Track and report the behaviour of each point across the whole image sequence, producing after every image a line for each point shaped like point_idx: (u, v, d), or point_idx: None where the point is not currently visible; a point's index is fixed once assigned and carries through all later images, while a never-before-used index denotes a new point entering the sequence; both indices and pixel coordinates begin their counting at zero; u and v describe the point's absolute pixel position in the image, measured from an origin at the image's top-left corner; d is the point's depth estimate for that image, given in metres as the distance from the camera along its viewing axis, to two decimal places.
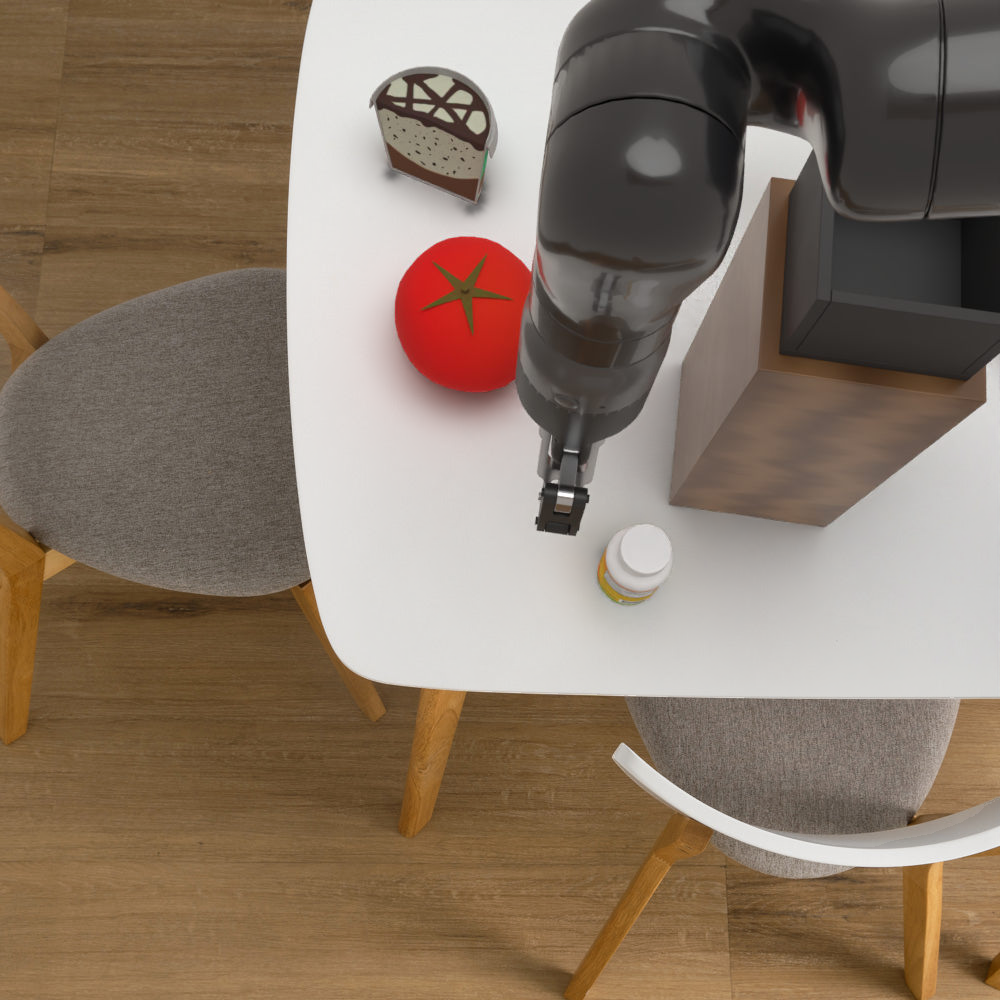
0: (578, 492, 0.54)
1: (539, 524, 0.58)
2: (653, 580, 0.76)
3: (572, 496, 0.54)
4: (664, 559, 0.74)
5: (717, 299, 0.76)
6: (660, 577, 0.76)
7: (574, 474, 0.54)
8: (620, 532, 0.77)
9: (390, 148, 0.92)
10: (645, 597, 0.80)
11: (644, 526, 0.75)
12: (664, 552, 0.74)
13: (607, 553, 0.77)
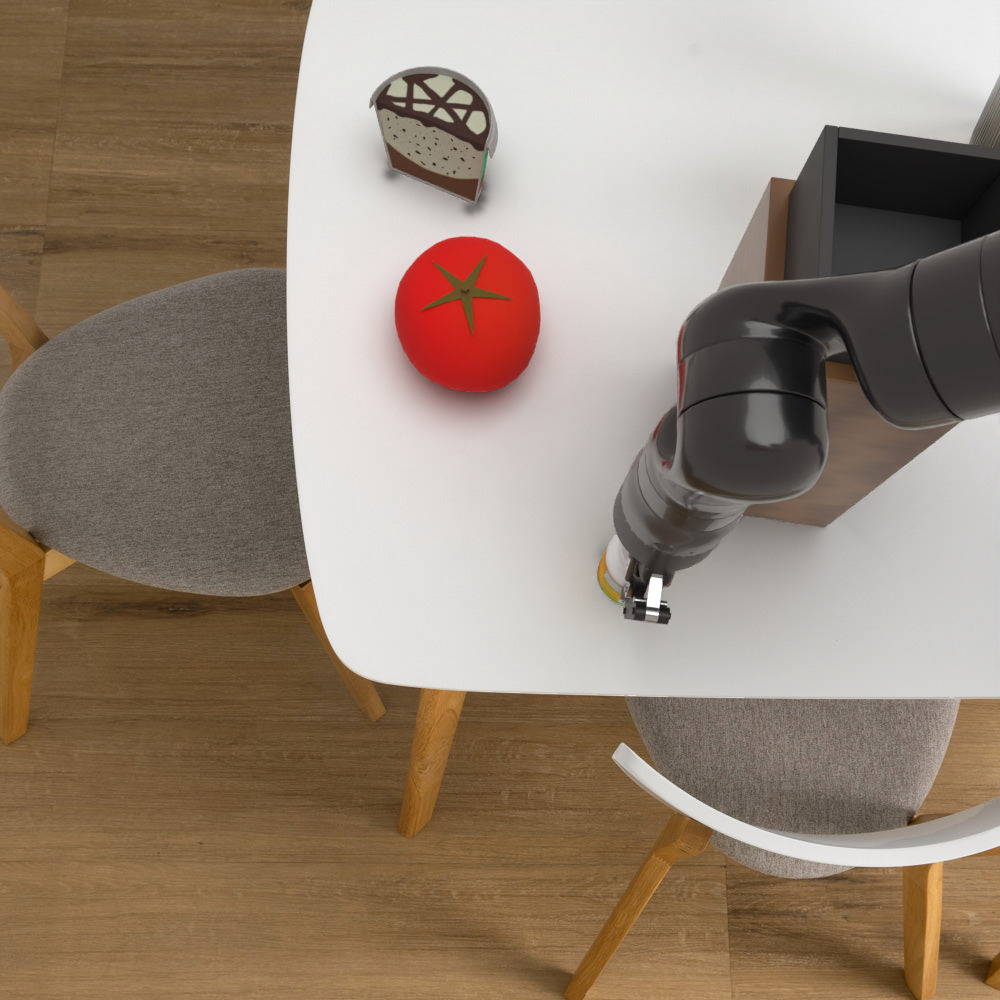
0: (662, 613, 0.67)
1: None
2: None
3: (657, 617, 0.67)
4: None
5: None
6: None
7: (659, 597, 0.67)
8: None
9: (390, 148, 0.92)
10: None
11: None
12: None
13: (607, 553, 0.77)
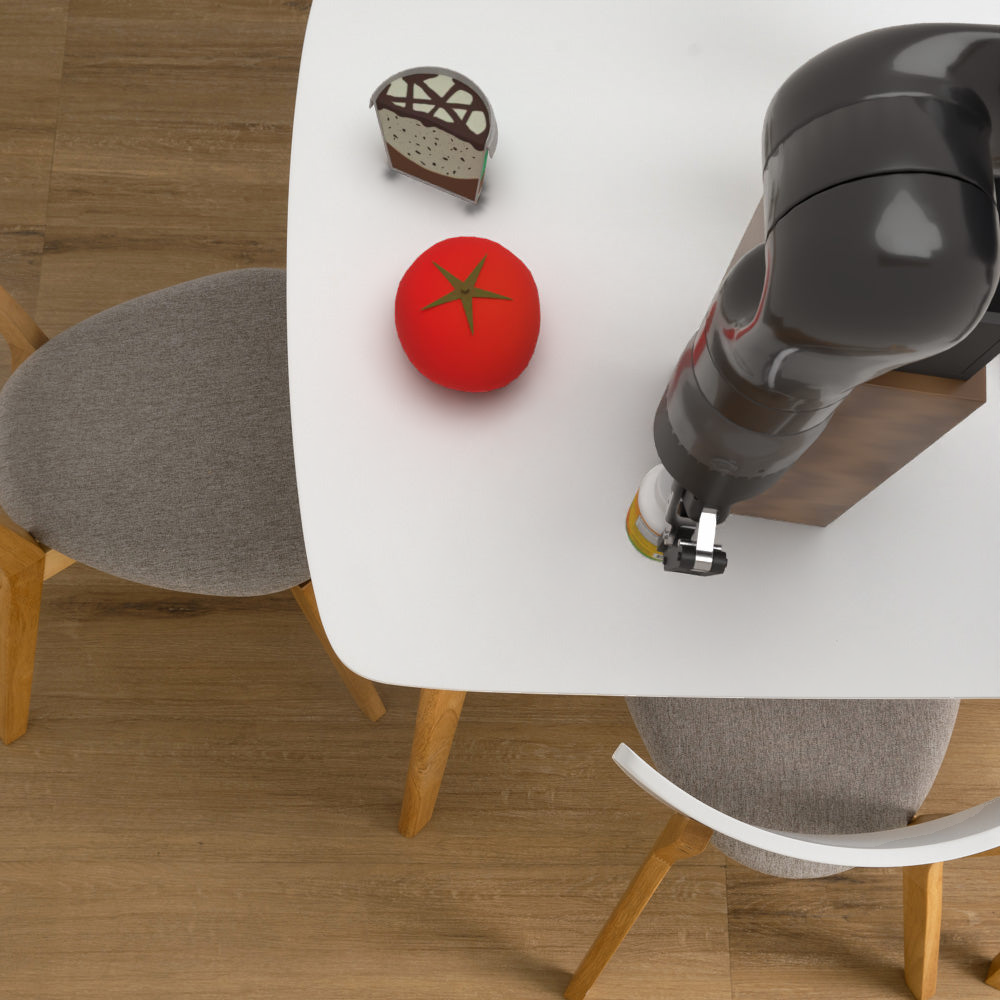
0: (716, 559, 0.52)
1: (668, 570, 0.56)
2: None
3: (710, 563, 0.52)
4: None
5: None
6: None
7: (712, 538, 0.52)
8: (656, 468, 0.62)
9: (390, 148, 0.92)
10: None
11: None
12: None
13: (640, 493, 0.62)
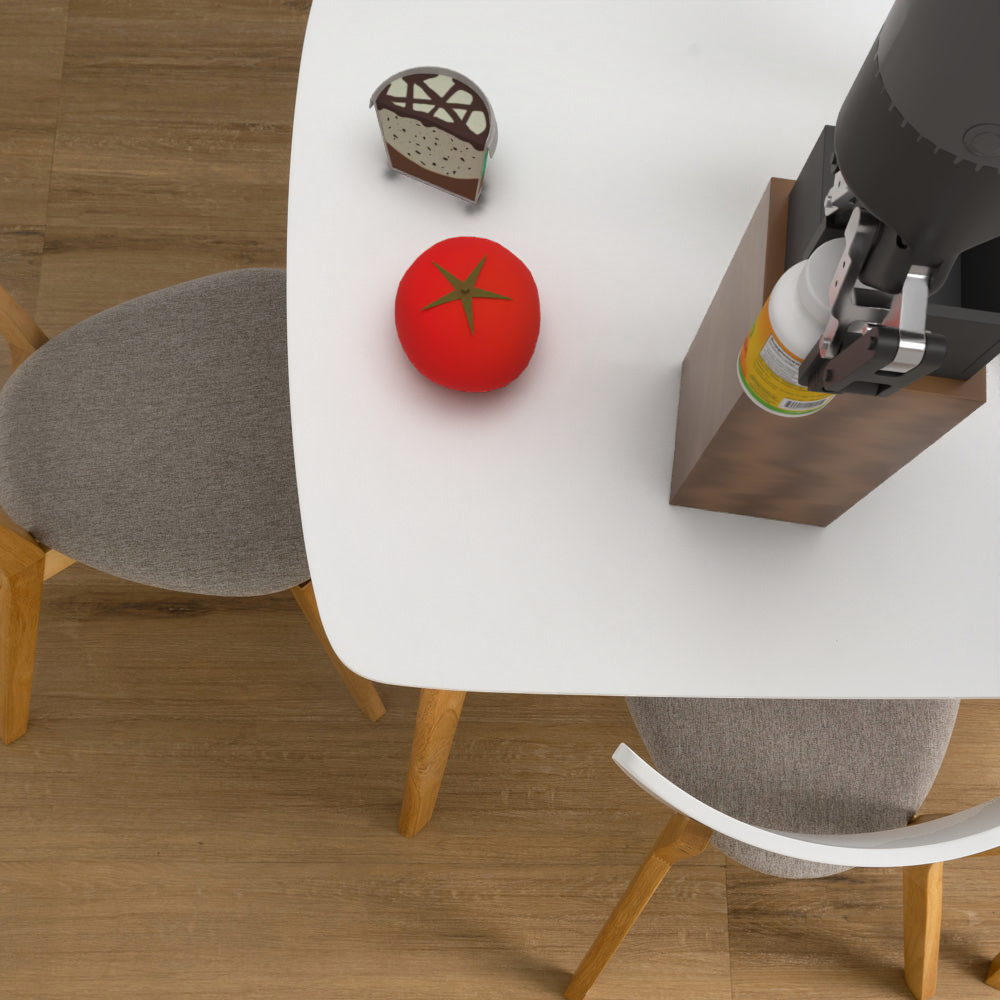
0: (932, 343, 0.34)
1: (838, 384, 0.38)
2: None
3: (922, 350, 0.34)
4: None
5: (717, 299, 0.76)
6: None
7: (923, 313, 0.34)
8: (794, 267, 0.44)
9: (390, 148, 0.92)
10: None
11: None
12: None
13: (773, 302, 0.44)
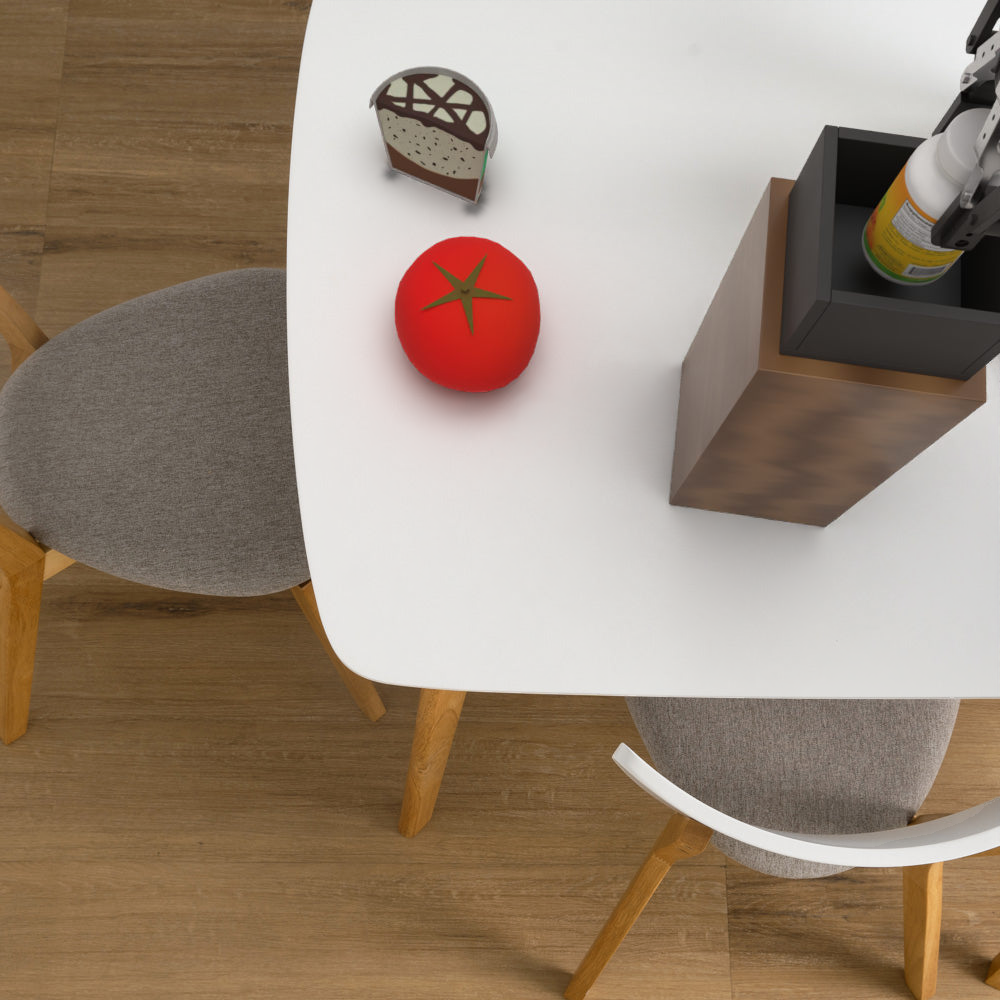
0: None
1: (985, 222, 0.44)
2: None
3: None
4: None
5: (717, 299, 0.76)
6: None
7: None
8: (929, 139, 0.50)
9: (390, 148, 0.92)
10: (952, 256, 0.53)
11: (981, 110, 0.48)
12: None
13: (910, 170, 0.50)
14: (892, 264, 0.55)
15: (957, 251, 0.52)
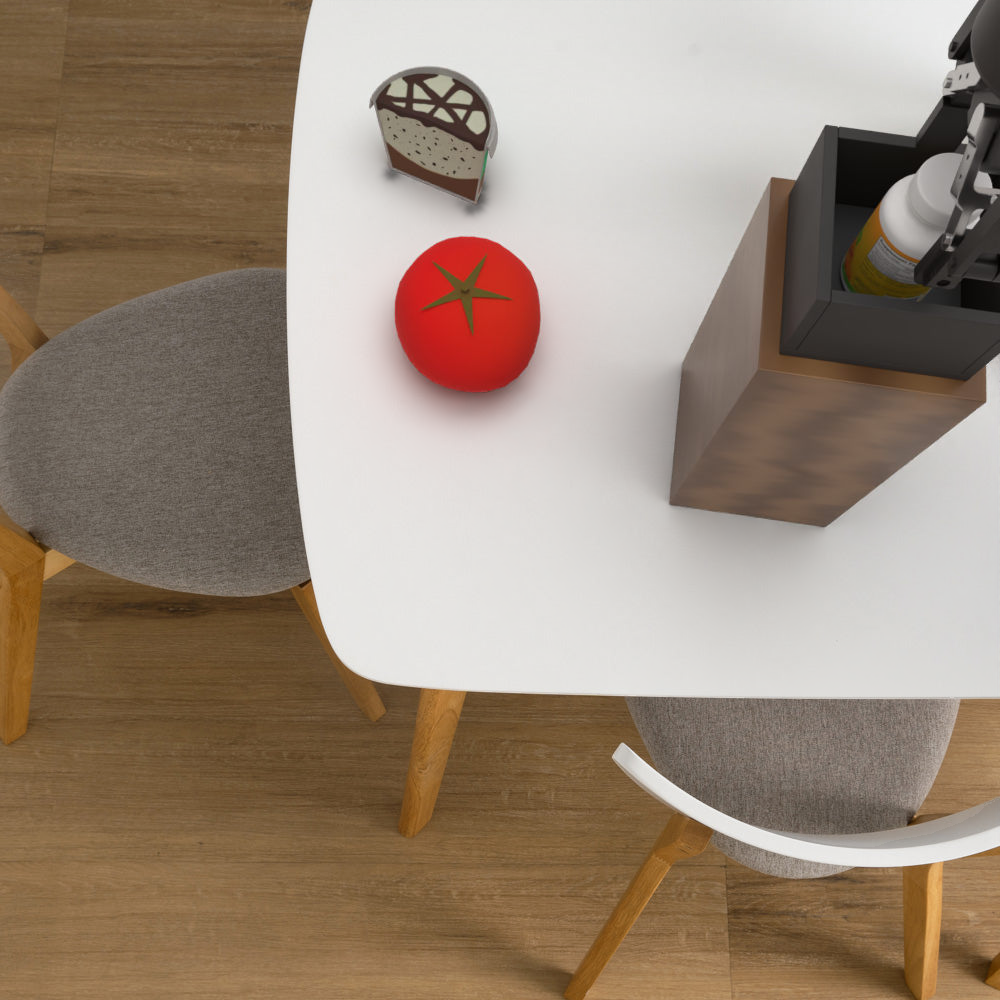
0: None
1: (966, 260, 0.45)
2: None
3: None
4: None
5: (717, 299, 0.76)
6: None
7: None
8: (901, 180, 0.54)
9: (390, 148, 0.92)
10: (924, 288, 0.56)
11: (949, 155, 0.51)
12: None
13: (884, 209, 0.53)
14: None
15: None
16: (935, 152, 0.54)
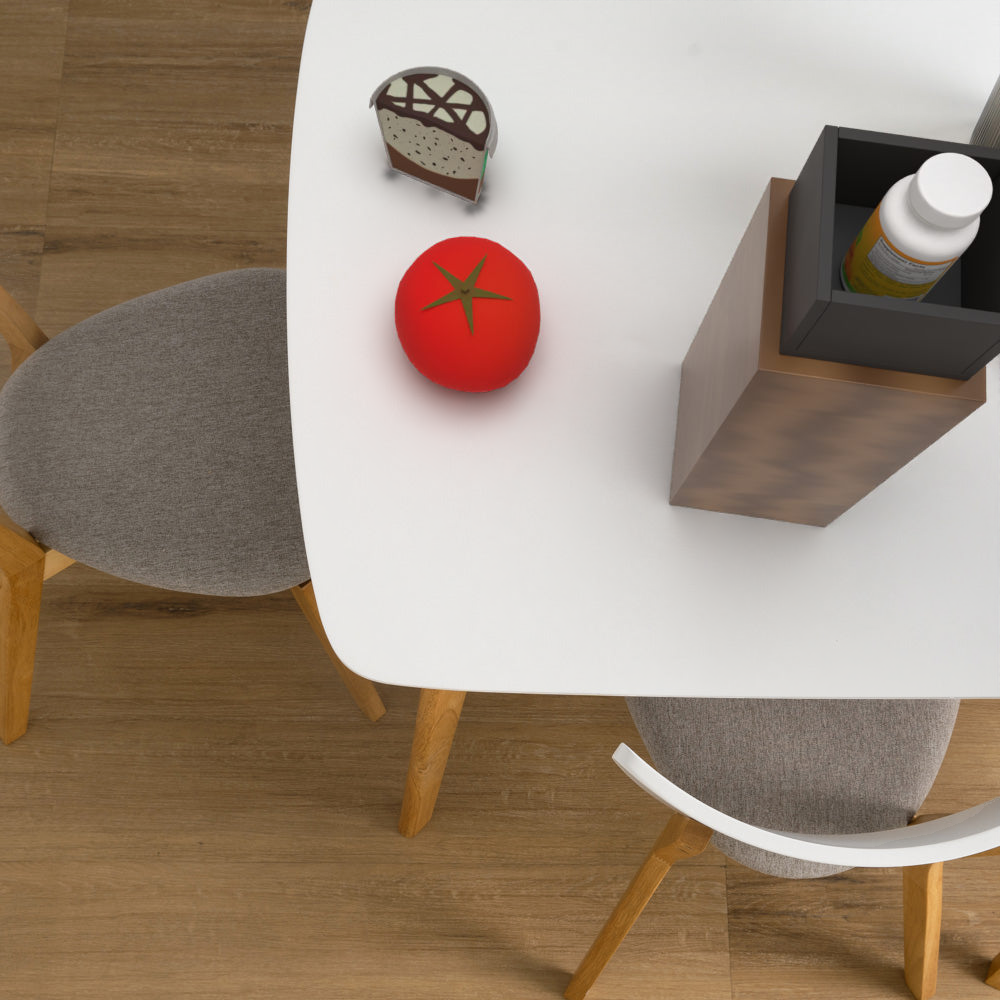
0: None
1: None
2: (957, 240, 0.52)
3: None
4: (983, 198, 0.51)
5: (717, 299, 0.76)
6: (966, 237, 0.52)
7: None
8: (902, 180, 0.54)
9: (390, 148, 0.92)
10: (924, 288, 0.56)
11: (949, 155, 0.51)
12: (982, 189, 0.51)
13: (884, 209, 0.53)
14: None
15: (929, 284, 0.56)
16: None
